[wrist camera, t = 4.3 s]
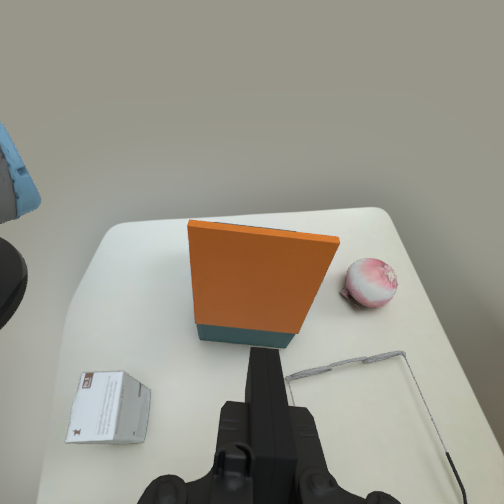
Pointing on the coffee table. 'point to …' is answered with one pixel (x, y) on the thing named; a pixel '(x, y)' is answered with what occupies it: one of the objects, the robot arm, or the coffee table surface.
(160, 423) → the coffee table surface
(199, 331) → the box
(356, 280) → the onion
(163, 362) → the coffee table surface
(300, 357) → the coffee table surface
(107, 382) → the cosmetic box
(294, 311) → the lid
